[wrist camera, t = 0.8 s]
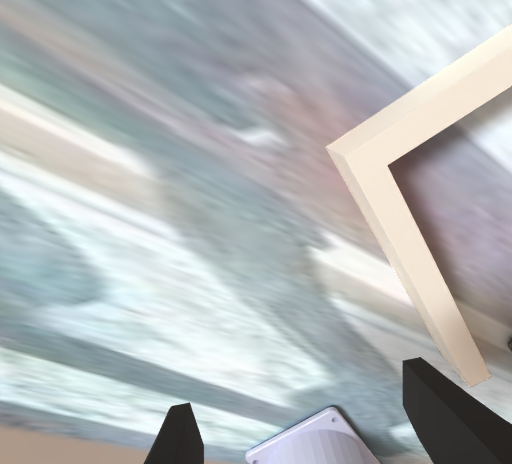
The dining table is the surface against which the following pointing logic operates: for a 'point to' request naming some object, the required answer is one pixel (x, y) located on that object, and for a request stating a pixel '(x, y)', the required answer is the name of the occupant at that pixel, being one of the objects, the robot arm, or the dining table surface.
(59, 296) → the dining table surface
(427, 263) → the bay
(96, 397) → the dining table surface
